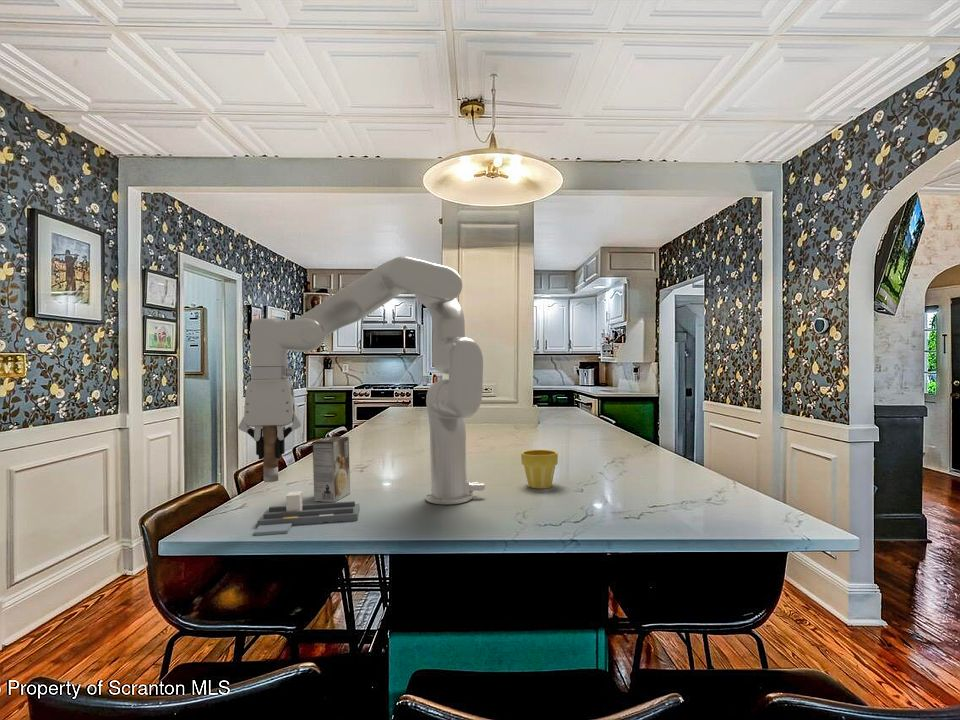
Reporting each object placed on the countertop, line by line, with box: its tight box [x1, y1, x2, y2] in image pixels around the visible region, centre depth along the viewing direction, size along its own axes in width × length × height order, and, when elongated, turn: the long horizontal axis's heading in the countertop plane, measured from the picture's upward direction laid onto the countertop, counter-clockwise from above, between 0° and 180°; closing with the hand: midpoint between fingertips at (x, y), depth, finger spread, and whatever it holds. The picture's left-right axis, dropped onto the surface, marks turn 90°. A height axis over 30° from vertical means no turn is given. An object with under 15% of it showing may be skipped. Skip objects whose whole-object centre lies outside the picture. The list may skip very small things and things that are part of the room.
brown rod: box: [262, 426, 279, 483], centre depth 116 cm, size 3×3×14 cm
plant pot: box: [520, 449, 559, 490], centre depth 151 cm, size 10×10×10 cm
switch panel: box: [256, 500, 360, 527], centre depth 125 cm, size 22×9×2 cm, turn 100°
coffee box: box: [311, 436, 351, 503], centre depth 143 cm, size 9×6×16 cm
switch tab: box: [285, 490, 303, 512], centre depth 124 cm, size 3×4×4 cm
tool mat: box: [253, 523, 293, 536], centre depth 116 cm, size 7×5×1 cm
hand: (270, 457), depth 116 cm, fingers closed on brown rod, 3 cm apart
